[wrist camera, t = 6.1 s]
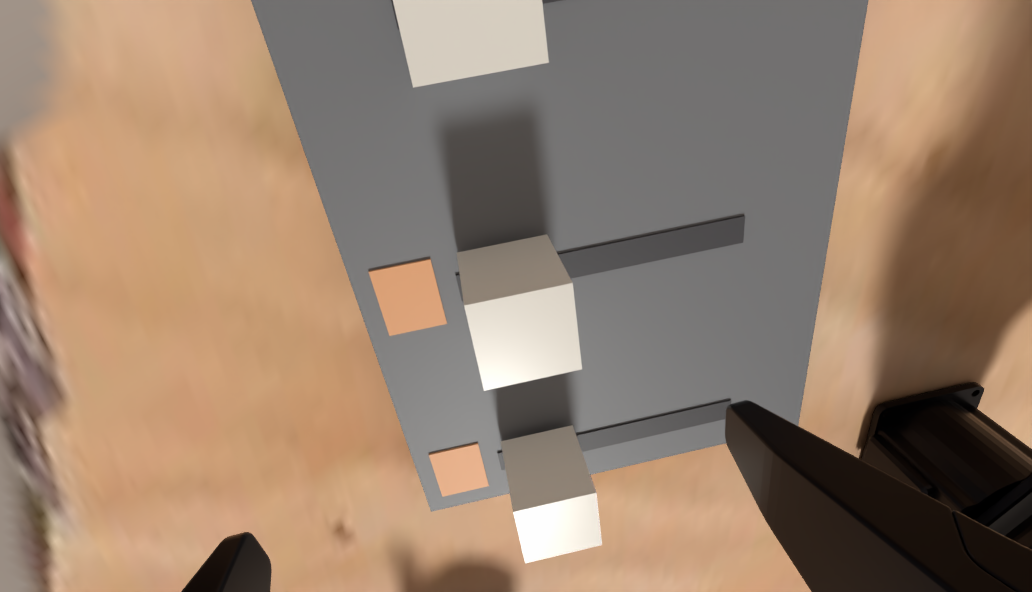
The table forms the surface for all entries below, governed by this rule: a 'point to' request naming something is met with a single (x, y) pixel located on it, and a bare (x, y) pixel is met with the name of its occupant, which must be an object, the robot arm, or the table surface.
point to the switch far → (551, 494)
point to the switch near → (470, 37)
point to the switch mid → (519, 311)
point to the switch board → (584, 212)
